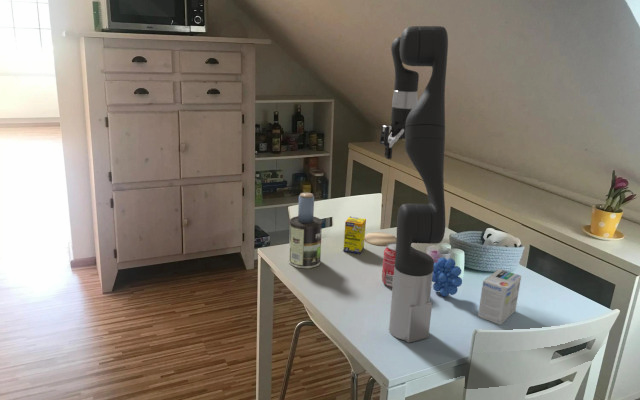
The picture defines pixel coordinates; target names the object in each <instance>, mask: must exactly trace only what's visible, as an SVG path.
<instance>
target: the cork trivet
mask: <svg viewBox="0 0 640 400" xmlns="http://www.w3.org/2000/svg"><path fill="white" fill-rule="evenodd" d="M396 239H397V236H395V235H394V234H391V233H387V232H382V231H379V232H378V231H377V232H376V231H375V232H374V231H373V232H368V233H365V239H364V242H366V243H367V244H370V245H374V246H381V247H383V246H384V247H385V246H386V247H387V244H389V243H396Z"/></svg>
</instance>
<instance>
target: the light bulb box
mask: <svg viewBox="0 0 640 400" xmlns="http://www.w3.org/2000/svg"><path fill="white" fill-rule="evenodd" d="M521 281H522V275H520V274H517V273H513V272H512V271H511V272H510V271H507V270H504V269H501V268H497V269H496V270H495V271H494V272H493V273H492V274H490V275H489V276H488V277H487V278H485V279H484V280H483V281H482V287H481V292H480V301H479V306H478V307H479V308H478V315H477V316H478V318H481V319H483V320H487V321H489V322H492V323H495V324H497V325H500V326H502V325H503V324H504V322H505V321H507V320H508V319H509V318H510V317H511V315H513V313H515V312H516V310H517V309H516V308H517V304H518V297H519V292H520V287H521Z"/></svg>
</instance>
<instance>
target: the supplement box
mask: <svg viewBox="0 0 640 400" xmlns="http://www.w3.org/2000/svg"><path fill="white" fill-rule="evenodd" d="M366 223H367V219H366V218H361V217H356V216H355V217H354V216H349V217H348V218H347V219H346V220H345V221H344V237H343V250H342V252H346V253H353V254H357V255H360V254H361V253H362V252H363V250H364V248H365V240H364V239H365V235H366Z"/></svg>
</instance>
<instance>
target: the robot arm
mask: <svg viewBox="0 0 640 400" xmlns="http://www.w3.org/2000/svg"><path fill="white" fill-rule="evenodd" d="M448 47H449V36H448V31H447V29H446V28H445V26H439V25H413V26H408V27H406V28H405V29H403V31H402V32H401V35H400V36H398V37H396V38H395V39H394V40H393V41H392V42H391V49H390V50H391V51H390V52H391V56H392V61H393V67H394V85H393V86H394V88H393V95H392V101H391V102H392V103H391V113H390V114H391V115H390V121H391V124H390V125H385V124H383V125H381V130H380V140H379V145H382V146H384V147H385V148H384V157H385V159H387V160H392V158H393V157H392V156H393V145H395V143H397V142H398V140H404V148H405V151H406V154H407V156H408V158H409V159H410V162H411V163H412V164H413V167H414V168H415V169H416V171H417V173H418V174H419V176H420V178H421V180H422V182H423V183H424V187H425V189H426V194H427V199H428V204H427V203H403V204H401V205H400V207H399V208H398V212H397V218H396V238H397V239H396V254H395V267H394V278H393V287H391V289H392V291H391V300H390V312H389V322H388V323H389V326H388V330H389V333H390V334H391V335H392V336H393V337H394V338H396V339H398V340H402V341H405V342H407V343H414V342H416V341H417V342H418V341H421V340H425V339H428V338H429V334H430V325H431V318H432V317H431V316H432V308H433V303H432V302H431V295H432V294H431V293H432V286H433V284H432V283H433V282H432V277H433V269H434V263H435V261H434V259H433V257H432V256H431V255H430V254H428V253H426V252H424V251H421V250H418V249H417V248H415V247H413V246H412V244H430V245H431V244H435V245H436V244H440V243H442V241H443V239H444V237H445V233H446V206H445V205H446V204H445V203H446V202H445V185H444V183H445V182H444V179H445V178H444V172H445V171H444V170H445V169H444V166H445V144H446V113H445V112H446V111H445V109H446V107H445V105H446V100H445V99H446V97H445V94H446V77H447V76H446V75H447V65H448V54H449V53H448V50H449V49H448ZM404 65H405V66H409V67H432V71H431V75H430V78H429V80H428V83H427V85H426V87H424V90H423V92H422V93H421V94H420V96H418V91H419V90H418V88H419V81H420V80H419V79H420V78H419V77H420V75H419V72H417V71H415V70H413V69H408V68H406V67H405V66H404ZM418 97H419V98H418Z"/></svg>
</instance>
